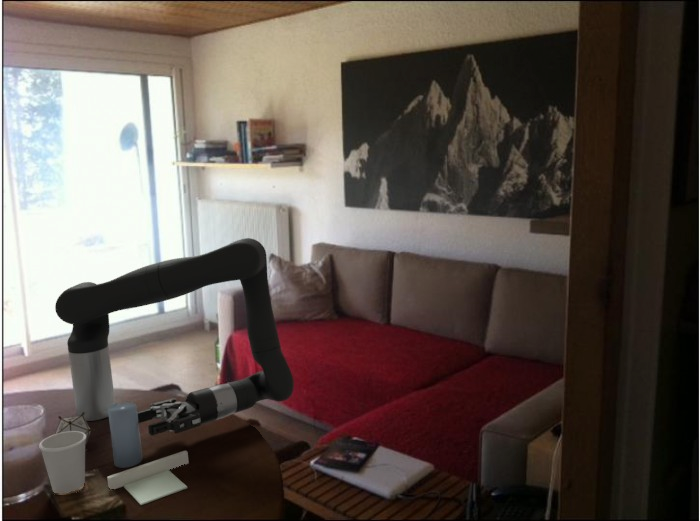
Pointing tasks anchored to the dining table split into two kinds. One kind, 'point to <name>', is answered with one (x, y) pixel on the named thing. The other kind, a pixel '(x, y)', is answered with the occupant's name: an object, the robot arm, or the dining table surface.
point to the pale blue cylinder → (125, 434)
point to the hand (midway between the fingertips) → (141, 424)
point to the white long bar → (147, 470)
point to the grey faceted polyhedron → (74, 426)
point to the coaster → (155, 487)
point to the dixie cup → (65, 460)
